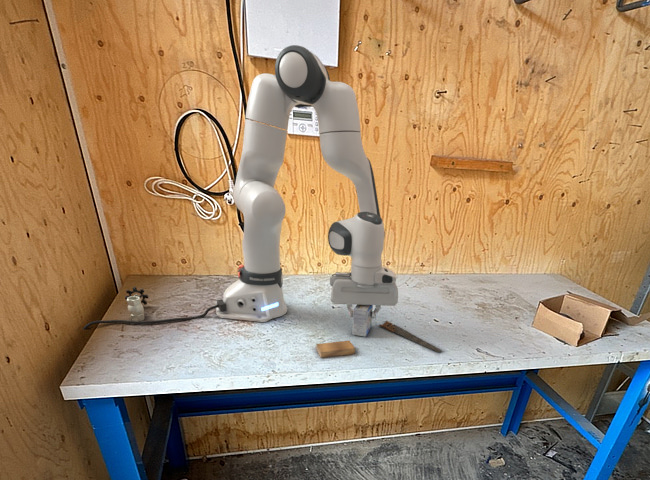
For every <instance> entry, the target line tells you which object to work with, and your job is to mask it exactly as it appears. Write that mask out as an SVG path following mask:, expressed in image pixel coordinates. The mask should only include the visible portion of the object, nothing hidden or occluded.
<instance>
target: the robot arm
mask: <svg viewBox="0 0 650 480" xmlns="http://www.w3.org/2000/svg"><path fill="white" fill-rule="evenodd" d="M311 107H312V108H313V109H314V111H315V114H316V115H317V116H316V117H317V123H318V135H319V146H320V152H321V155H322V158H323V160H324V162H325V163H326V165H328V166H329V167H330V168H331V169H332V170H333V171H334V172H337V173H339V174H341V175H343V176H344V177H346V178H348V179H349V180H350V181H351V182H352V184H353V185H354V188H355V191H356V196H357V203H358V208H359V212H357V213H356V214H355V215H354V216H352V217H350V218H346V219H340V220H337V221H334V222H333V223H331V225H330V226H329V228H328V232H327V243H328V245H329V247H330V249H331V251H332V252H333V253H334V254H336V255H338V256H342V257H343V256H345V257H346V256H347V257H348V256H349V257H350V258H351V262H350V263H351V264H350V272H348V271H347V272H340V271H336V272H335V273H333V274H331V275H330V277H329V285H330V286H331V289H330V301H331V303H332V304H333V305H346V308H347V310H348V312H349V318H351V319H353V311H354V310H353V309H352V307H353V306H356V305H373V306H375V308H374V309H373V310H372V311H371V318H372V319H377V314H378V313H379V311H380V310H381V307H382V306H385V307H395V306H396V305H397V304H398V303H399V288H398V285H397V283H396V282H397V276H396V273H395V272H394V271H393V269H390V268H388V267H385V266H383V260H382V255H383V252H384V247H385V238H386V231H385V230H386V229H385V226H384V225H385V224H384V221H383V218H382V217H381V212H380V207H379V200H378V193H377V187H376V180H375V175H374V169H373V166H372V163H371V161H370V159H369V158H368V157H367V154H366V153H365V152H366V151H365V149H364V145H363V141H362V131H361V129H362V128H361V117H360V113H359V112H360V111H359V105H358V101H357V97H356V93H355V90H354V88H353V87H352V86H350V85H349V84H347V83H345V82H342V81H331V78H330V74H329V72H328V69H327V67H326V66H325V64H324V63H323V62H322V60H321V59H320V58H319V57H318V56H317V55H316V54H315V53H313V52H311V51H310V50H309V49H308V48H306V47H305V46H301V45H297V44H292V45H288V46H287V47H284V48H283V49H282V50H281V51H280V52H279V53H278V55H277V57H276V60H275V64H274V74H272V73H268V72H267V73H265V72H264V73H259V74H257V75H256V76H255V77H254V78H253V80H252V82H251V86H250V90H249V94H248V98H247V104H246V110H245V120H244V128H243V129H244V130H243V131H244V132H243V140H242V148H241V149H242V150H241V156H240V160H239V164H238V169H237V172H236V178H235V184H234V186H233V187H232V188H233V189H232V198H233V201H234V204H235V206H236V208H237V210H238V211H239V212H241V213H242V215H243V237H242V240H241V247H242V256H243V264H239V266H238V268H237V277H238V279H237V280H236V281H234V282H233V283H232V284H230V285H229V286H228V287H227V288H225V290H224V292H223V296H222V298H221V299H216V304H215V305H212V306H210V307H208V308H207V309H206V310H205V312H204V313H202V314H200V315H197V316H191V317H190V316H189V317H174V318H166V319H158V320H142V321H133V320H125V319H108V320H107V319H106V320H94V321H91V322H88V323H87V324H85V325H84V326H83V327H82V330H88V328H89V327H91V326H92V325H97V324H120V323H121V324H132V325H150V324H162V323H163V324H164V323H170V322H178V321H179V322H181V321H189V320H190V321H191V320H197V319H201V318H204V317H206V316H207V315H208V313H209V312H211V311H212V310H214V309H215V311H216V312H215V313H216V316H217V317H218V318H221V319H228V320H229V319H230V320H238V321H246V322H247V321H249V322H257V323H267V322H268V321H270V320H273V319H276V318H280V317H282V316H284V315H285V314H287V312H288V308H287V304H286V300H285V296H284V291H283V284H284V277H283V276H284V275H283V268H282V267H281V244H280V243H281V233H282V229H283V227H282V226H283V220H284V218H285V216H286V204H285V202H284V199H283V197H282V195H281V194H280V192H279V191H278V190H277V189H276V188H275V185H276V184H275V183H276V181H277V177H278V174H279V171H280V169H281V167H282V165H283V164H284V159H285V153H286V144H287V136H288V131H289V130H288V129H289V122H290V115H291V112H292V110H293V109H294V108H297V109H299V108H311Z"/></svg>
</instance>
